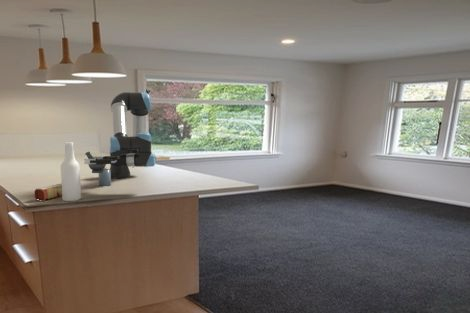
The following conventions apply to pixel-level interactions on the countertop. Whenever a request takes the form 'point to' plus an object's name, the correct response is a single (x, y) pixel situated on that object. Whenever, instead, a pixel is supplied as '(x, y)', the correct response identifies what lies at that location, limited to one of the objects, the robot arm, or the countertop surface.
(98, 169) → the mortar and pestle
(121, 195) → the countertop surface
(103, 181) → the glazed jar
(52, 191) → the snack package
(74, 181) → the alcohol
